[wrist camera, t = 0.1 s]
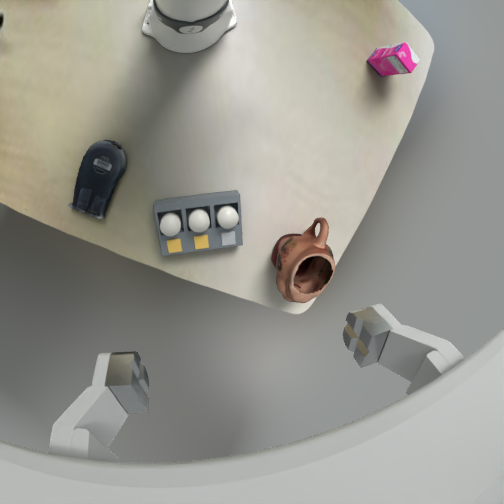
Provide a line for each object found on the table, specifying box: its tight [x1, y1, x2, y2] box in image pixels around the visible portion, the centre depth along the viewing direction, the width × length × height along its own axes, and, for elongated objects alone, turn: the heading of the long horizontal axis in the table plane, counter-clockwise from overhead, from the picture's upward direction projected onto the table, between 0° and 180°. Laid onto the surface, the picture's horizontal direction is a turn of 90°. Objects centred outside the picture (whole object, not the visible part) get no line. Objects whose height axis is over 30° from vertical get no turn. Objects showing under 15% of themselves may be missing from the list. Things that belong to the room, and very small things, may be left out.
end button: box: [160, 213, 181, 236], centre depth 51 cm, size 4×4×2 cm
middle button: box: [189, 209, 210, 232], centre depth 52 cm, size 4×4×2 cm
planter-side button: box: [217, 205, 239, 229], centre depth 53 cm, size 4×4×2 cm
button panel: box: [153, 190, 243, 256], centre depth 55 cm, size 11×17×4 cm, turn 92°
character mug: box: [272, 218, 335, 303], centre depth 58 cm, size 20×12×14 cm, turn 169°
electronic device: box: [68, 140, 127, 219], centre depth 46 cm, size 10×6×15 cm
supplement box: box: [367, 42, 420, 76], centre depth 43 cm, size 6×6×12 cm
